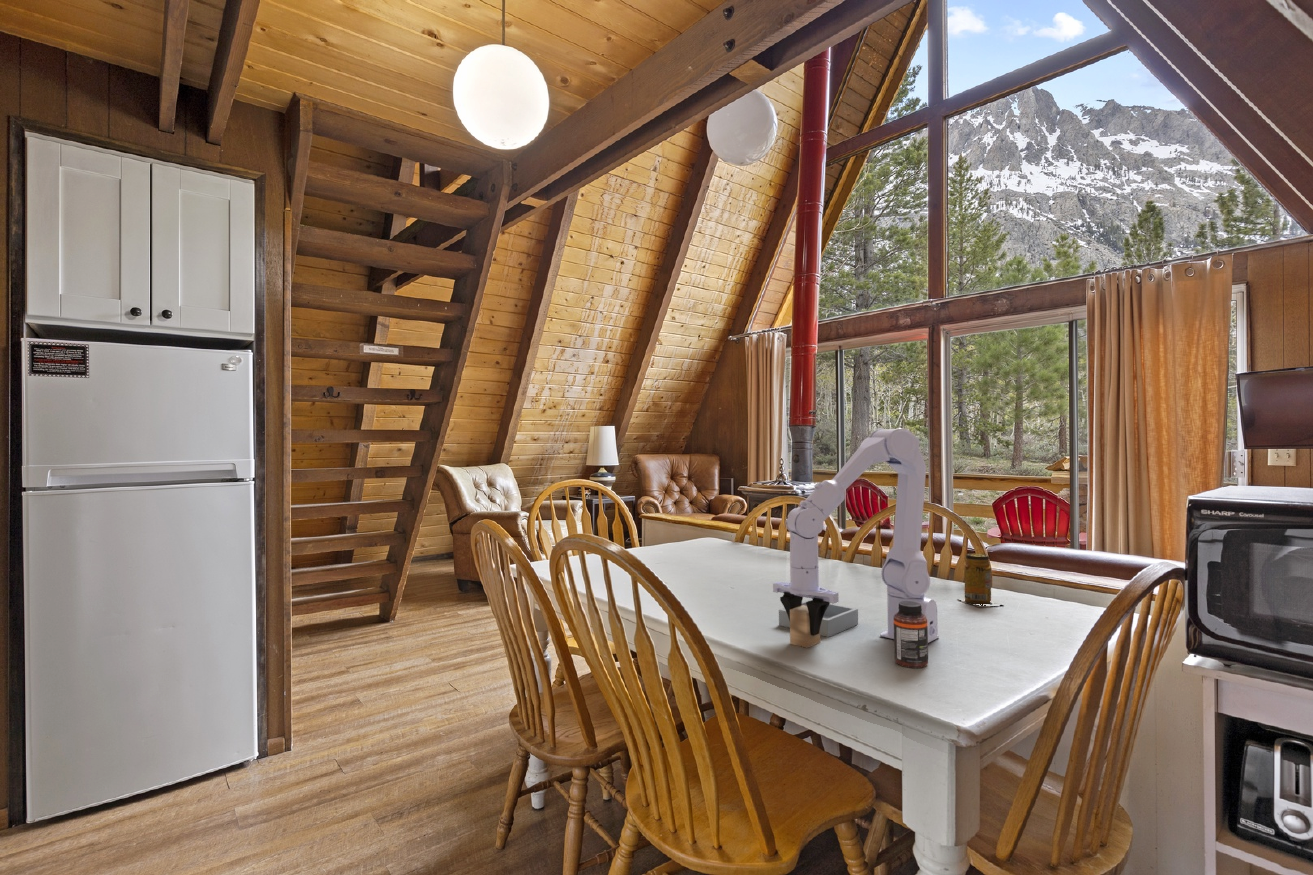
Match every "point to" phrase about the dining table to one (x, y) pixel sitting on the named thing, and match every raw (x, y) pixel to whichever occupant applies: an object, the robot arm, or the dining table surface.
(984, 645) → the dining table surface
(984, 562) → the condiment
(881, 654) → the dining table surface
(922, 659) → the supplement bottle
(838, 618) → the tray
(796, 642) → the carton
